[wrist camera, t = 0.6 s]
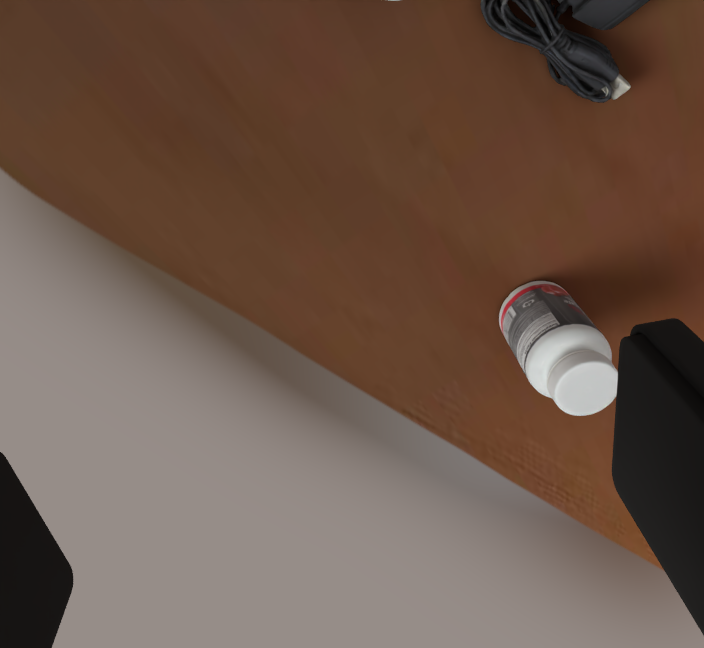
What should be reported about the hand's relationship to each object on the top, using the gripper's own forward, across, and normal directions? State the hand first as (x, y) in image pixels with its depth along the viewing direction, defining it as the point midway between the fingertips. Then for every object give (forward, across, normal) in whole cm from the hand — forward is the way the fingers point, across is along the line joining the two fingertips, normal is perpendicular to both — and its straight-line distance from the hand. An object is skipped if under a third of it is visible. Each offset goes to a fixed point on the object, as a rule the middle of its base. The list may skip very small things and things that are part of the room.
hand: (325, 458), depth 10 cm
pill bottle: (+32, -13, +18) cm, 39 cm away
